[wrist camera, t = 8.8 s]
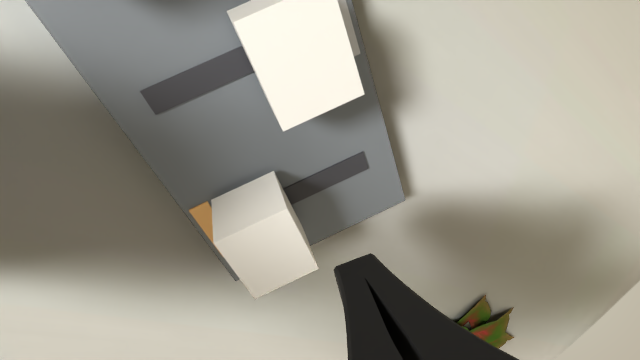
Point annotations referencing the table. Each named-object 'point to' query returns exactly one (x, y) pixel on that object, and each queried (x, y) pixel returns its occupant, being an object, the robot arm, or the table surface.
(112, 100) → the switch panel
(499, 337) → the lily flower
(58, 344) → the table surface
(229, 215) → the light grey block
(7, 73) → the table surface
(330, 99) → the tab
